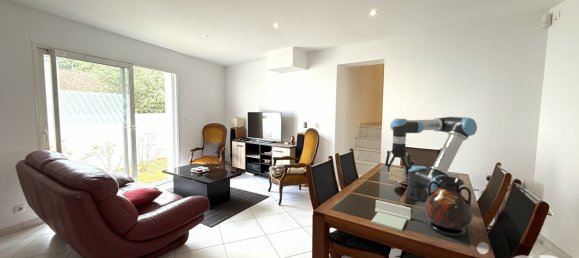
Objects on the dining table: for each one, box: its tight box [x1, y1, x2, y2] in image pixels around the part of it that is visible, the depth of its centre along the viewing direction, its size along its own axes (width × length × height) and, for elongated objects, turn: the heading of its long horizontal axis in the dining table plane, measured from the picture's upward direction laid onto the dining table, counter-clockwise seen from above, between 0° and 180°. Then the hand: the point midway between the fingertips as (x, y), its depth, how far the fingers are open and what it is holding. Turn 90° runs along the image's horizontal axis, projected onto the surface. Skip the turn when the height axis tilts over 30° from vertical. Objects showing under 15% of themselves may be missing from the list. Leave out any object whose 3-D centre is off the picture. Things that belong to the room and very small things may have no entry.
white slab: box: [374, 199, 412, 221], centre depth 143 cm, size 3×20×6 cm, turn 54°
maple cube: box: [388, 164, 406, 183], centre depth 150 cm, size 8×8×8 cm
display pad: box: [371, 212, 407, 232], centre depth 135 cm, size 14×16×1 cm
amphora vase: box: [423, 175, 474, 238], centre depth 125 cm, size 22×22×28 cm
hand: (397, 177), depth 150 cm, fingers closed on maple cube, 8 cm apart
